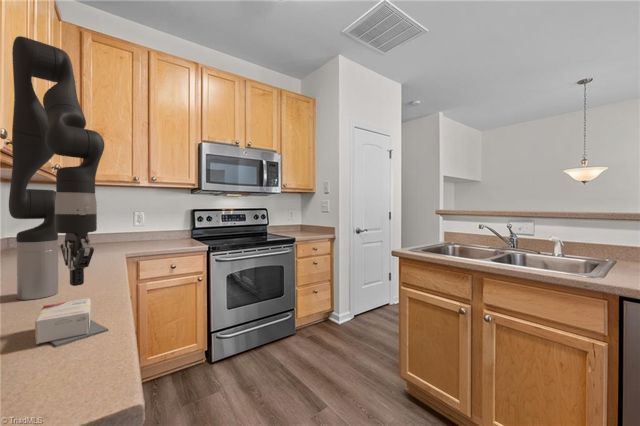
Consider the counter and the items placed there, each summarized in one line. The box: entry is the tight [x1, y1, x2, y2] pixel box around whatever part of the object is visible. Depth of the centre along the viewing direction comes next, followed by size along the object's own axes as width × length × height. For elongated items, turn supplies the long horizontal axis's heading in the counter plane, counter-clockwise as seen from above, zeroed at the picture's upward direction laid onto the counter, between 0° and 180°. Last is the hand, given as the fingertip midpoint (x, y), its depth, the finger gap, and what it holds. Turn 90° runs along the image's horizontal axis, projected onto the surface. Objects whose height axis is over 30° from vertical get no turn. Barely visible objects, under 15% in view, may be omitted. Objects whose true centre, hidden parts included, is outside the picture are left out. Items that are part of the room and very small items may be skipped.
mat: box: [48, 319, 109, 348], centre depth 64 cm, size 12×9×1 cm
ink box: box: [34, 297, 92, 345], centre depth 64 cm, size 9×5×12 cm
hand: (76, 284), depth 68 cm, fingers closed
